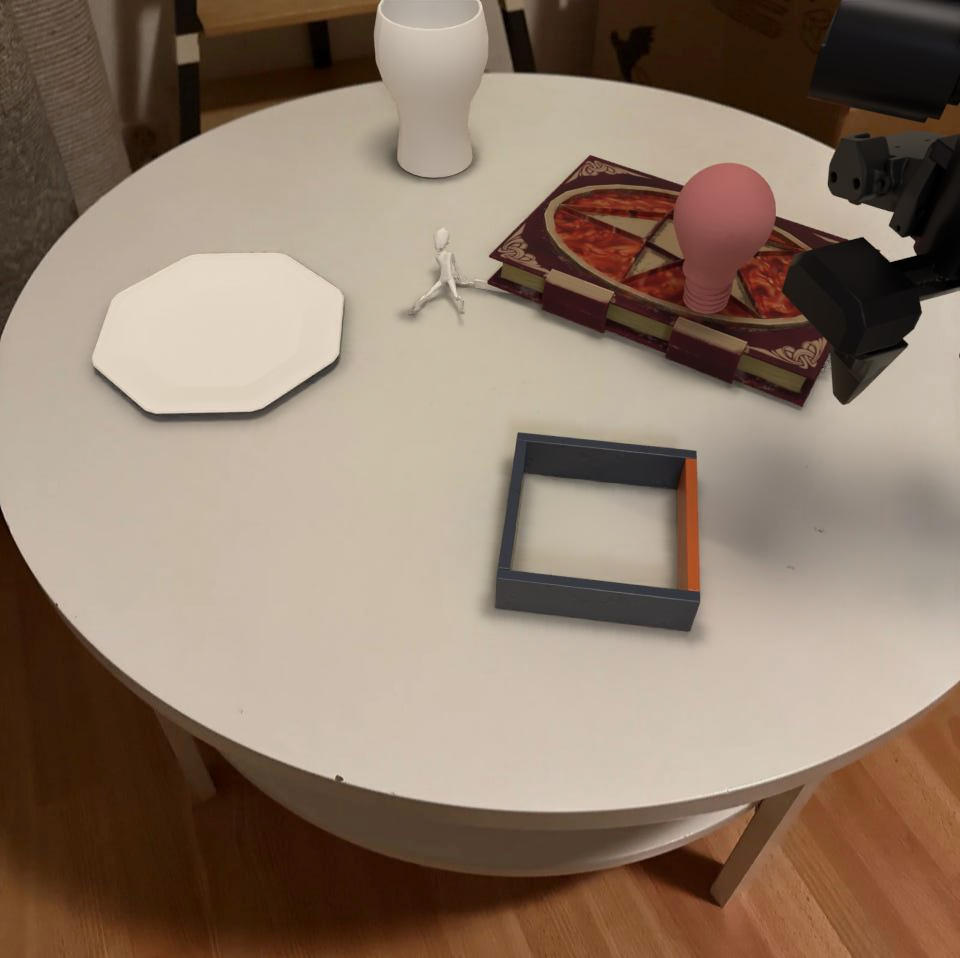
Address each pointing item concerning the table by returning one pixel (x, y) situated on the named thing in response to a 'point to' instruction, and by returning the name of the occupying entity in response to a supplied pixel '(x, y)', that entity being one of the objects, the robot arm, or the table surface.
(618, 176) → the book
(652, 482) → the square frame
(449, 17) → the cup
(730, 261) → the pink screw bulb
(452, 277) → the action figure
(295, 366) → the plate
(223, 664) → the table surface
